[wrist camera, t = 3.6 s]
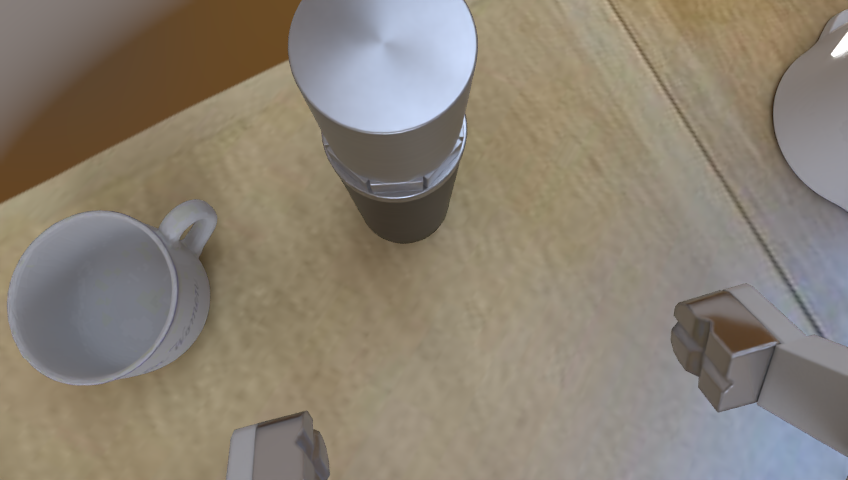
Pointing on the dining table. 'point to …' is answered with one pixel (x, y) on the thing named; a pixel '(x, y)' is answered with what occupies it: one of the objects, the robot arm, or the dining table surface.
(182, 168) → the dining table surface
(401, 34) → the silver metal cylinder
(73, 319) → the teacup
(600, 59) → the dining table surface
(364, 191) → the thermos
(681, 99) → the dining table surface
